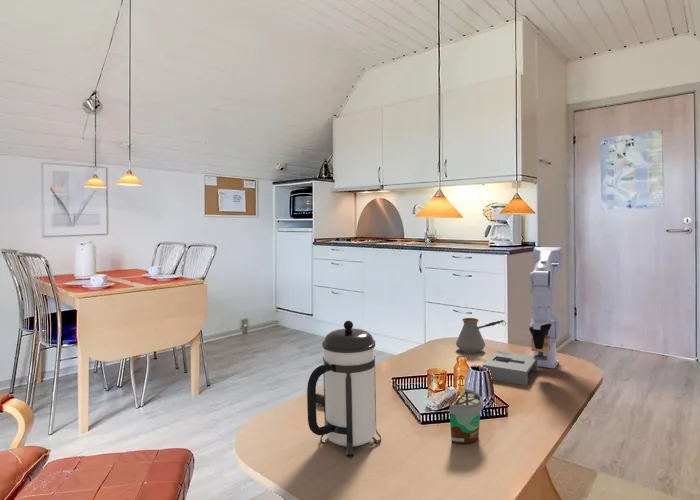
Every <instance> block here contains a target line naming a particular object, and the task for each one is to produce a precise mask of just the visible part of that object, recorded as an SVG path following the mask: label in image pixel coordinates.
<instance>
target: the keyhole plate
mask: <svg viewBox="0 0 700 500" xmlns="http://www.w3.org/2000/svg"><path fill="white" fill-rule="evenodd" d="M483 367H486V368H488V369H489V370H490V373H491V377H492V379H491V381H493V380H494V381H497V382H498V381H499V382H503V383H508V384H515V385H521V386H528V385H529V384H528V383H529V382H528V380H529V377H528V376H529V372H530V371H535V372H537V371H538V370H539V368H538V367H539V366H538V360H536V359H534V355H527V354H521V353H513V352H506V351H499V350H497V351H496V352H494V354H493V355H491V356H490V358H488V359H487V360H486V361H485V362H484V363H483V364H482V368H483Z"/></svg>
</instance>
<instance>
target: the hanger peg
mask: <svg viewBox="0 0 700 500" xmlns="http://www.w3.org/2000/svg"><path fill="white" fill-rule="evenodd" d="M549 350H550V336H546V335H545V339H544V344H543V348H542V349H536V348H535V345H534V340H533V336H532V338H531V351H532V352H534V351H537V352H538V354H535V355H534V354H533V356H534V359H536V360H541V361H545V360H547V356H546V355H543V352H545V353H548V352H549Z"/></svg>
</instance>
